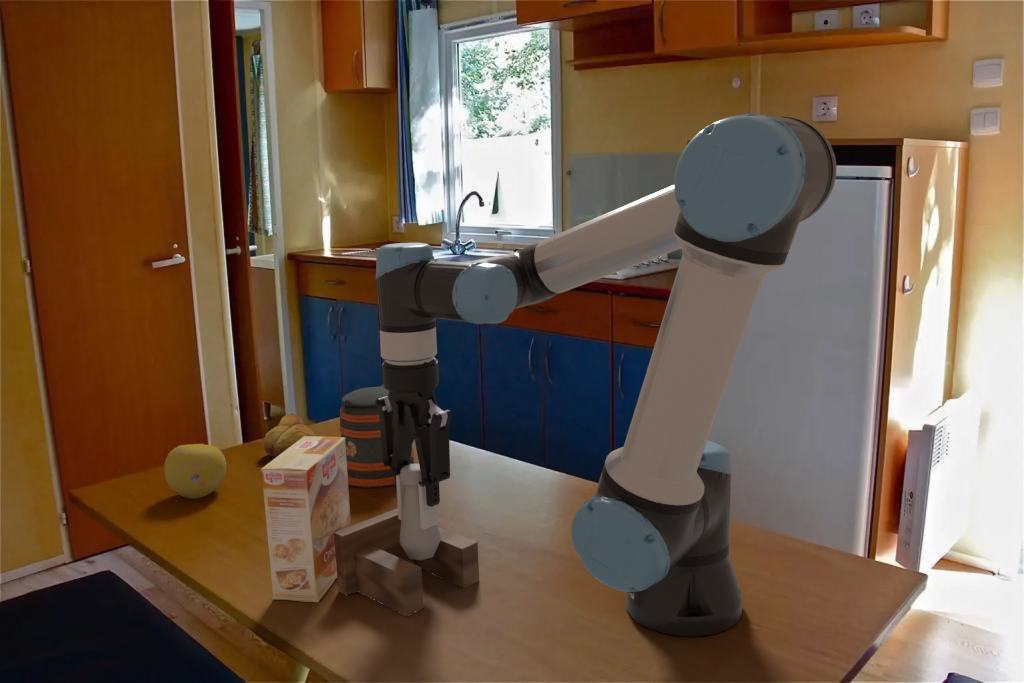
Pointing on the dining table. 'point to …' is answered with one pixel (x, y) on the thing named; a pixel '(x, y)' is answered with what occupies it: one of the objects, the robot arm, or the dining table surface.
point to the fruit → (195, 470)
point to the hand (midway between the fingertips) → (418, 521)
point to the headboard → (398, 563)
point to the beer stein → (364, 439)
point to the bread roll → (285, 434)
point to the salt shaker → (415, 519)
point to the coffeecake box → (305, 515)
